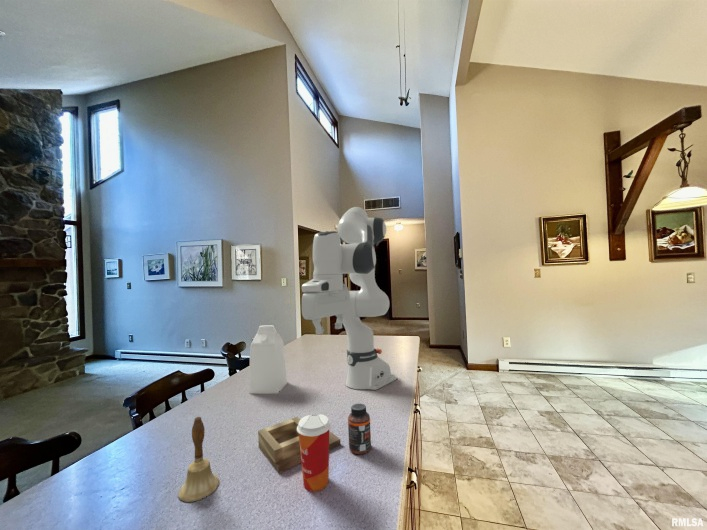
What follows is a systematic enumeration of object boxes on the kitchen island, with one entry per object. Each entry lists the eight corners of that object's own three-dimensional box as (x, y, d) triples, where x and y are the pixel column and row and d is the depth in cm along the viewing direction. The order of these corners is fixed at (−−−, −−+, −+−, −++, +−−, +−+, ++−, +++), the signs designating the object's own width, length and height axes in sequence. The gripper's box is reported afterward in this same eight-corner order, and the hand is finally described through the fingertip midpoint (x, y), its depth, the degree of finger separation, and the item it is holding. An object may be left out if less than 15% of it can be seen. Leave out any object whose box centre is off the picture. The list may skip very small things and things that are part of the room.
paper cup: (300, 473, 72) (298, 414, 72) (332, 469, 73) (330, 411, 73) (297, 497, 64) (294, 431, 64) (333, 493, 65) (330, 428, 65)
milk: (287, 382, 132) (284, 322, 132) (277, 393, 120) (275, 328, 120) (260, 382, 133) (258, 323, 133) (249, 393, 121) (246, 328, 122)
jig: (315, 424, 94) (315, 410, 94) (340, 444, 83) (339, 428, 83) (258, 447, 84) (258, 430, 84) (278, 473, 72) (277, 454, 72)
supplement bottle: (369, 456, 77) (367, 412, 77) (346, 454, 78) (345, 411, 79) (372, 443, 83) (370, 402, 83) (351, 441, 84) (349, 401, 84)
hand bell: (225, 474, 73) (222, 408, 73) (209, 501, 64) (207, 426, 65) (190, 477, 72) (187, 410, 73) (170, 503, 64) (167, 428, 64)
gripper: (339, 283, 100) (340, 325, 100) (297, 286, 83) (298, 336, 82) (355, 283, 97) (356, 326, 96) (315, 285, 80) (316, 338, 79)
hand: (329, 331), depth 89 cm, fingers open, 8 cm apart
